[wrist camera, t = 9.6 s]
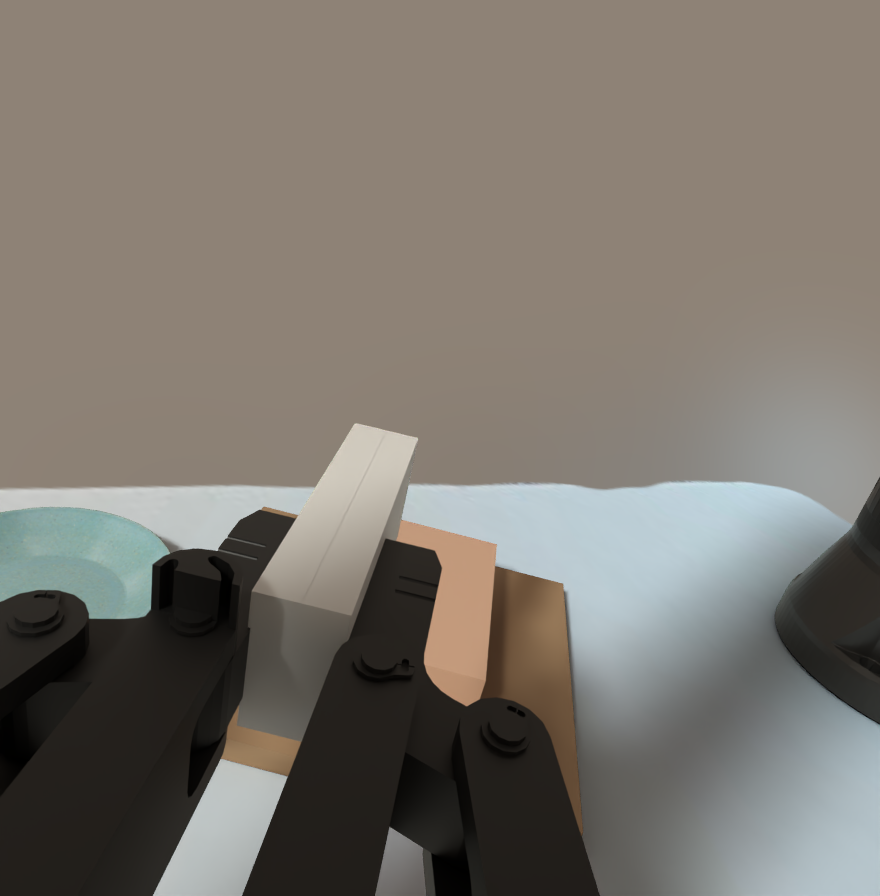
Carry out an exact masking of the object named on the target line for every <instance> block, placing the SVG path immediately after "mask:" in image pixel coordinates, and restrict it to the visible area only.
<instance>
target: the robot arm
mask: <svg viewBox="0 0 880 896" xmlns="http://www.w3.org/2000/svg"><path fill="white" fill-rule="evenodd" d="M417 442H418V438H415V437H411V436H407V435H403V434H399V433H395V432H390V431H386V430H382V429H378V428H374V427H369V426H365V425H361V424H357V423H355V424H354V426H353V428H352V429H351V431H350V433H349V434H348V436H347V438H346V439H345V441H344V442H343V444H342V446H341V447H340V449H339V450H338V452H337V454H336V455H335V457H334V459H333V460H332V462H331V463H330V465H329V467H328V468H327V470H326V471H325V473H324V475H323V476H322V478H321V480H320V481H319V483H318V484H317V486H316V488H315V489H314V491H313V492H312V494H311V496H310V497H309V499H308V501H307V502H306V504H305V505H304V507H303V509H302V510H301V512H300V514H299V515H298V517H297V518H292V517H288V516H284V515H280V514H276V513H271V512H267V511H263V510H258V511H256V512H255V513H253V514H251V515H249V516H247V517H245V518H243V519H241V520H240V521H239V522H238V523H237V524H236V526H235V527H234V528H233V530H232V531H231V532H230V534H229V535H228V538H227V539H225V540H224V542H223V543H222V544H221V545H220V547H219V549H218V551H213V550H205V549H188V550H179V551H176V552H173V553H171V554H168V555H165V556H163V557H162V558H160V559H159V560H158V561H156V562H155V563H154V564H152V588H151V610H150V611H149V612H148V613H147V615H146V616H144V617H139V618H128V619H89V612H88V610H87V607H86V604H85V602H83V601H82V600H81V599H79V598H78V597H77V596H75V595H74V594H70V593H66V592H63V591H59V590H35V591H30V592H25V593H20V594H17V595H15V596H13V597H10V598H8V599H6V600H3V601H1V602H0V896H153V894H154V892H155V890H156V888H157V886H158V884H159V882H160V880H161V878H162V876H163V874H164V872H165V870H166V868H167V866H168V864H169V862H170V860H171V858H172V856H173V854H174V852H175V850H176V848H177V846H178V844H179V842H180V840H181V837H182V835H183V833H184V831H185V829H186V827H187V825H188V823H189V821H190V819H191V817H192V815H193V813H194V811H195V809H196V807H197V805H198V803H199V801H200V799H201V797H202V795H203V793H204V791H205V789H206V787H207V785H208V783H209V781H210V779H211V777H212V775H213V773H214V771H215V769H216V767H217V765H218V763H219V761H220V759H221V757H222V755H223V752H224V748H225V744H226V739H227V729H228V725H229V723H230V721H231V719H232V717H233V715H234V713H235V711H236V709H237V707H238V705H239V710H238V720H237V726H241V727H245V728H249V729H253V730H257V731H260V732H264V733H268V734H272V735H276V736H280V737H284V738H288V739H292V740H296V741H300V742H301V744H300V747H299V749H298V752H297V754H296V757H295V760H294V762H293V765H292V767H291V770H290V773H289V775H288V778H287V780H286V783H285V786H284V788H283V791H282V793H281V796H280V799H279V801H278V804H277V806H276V809H275V812H274V814H273V817H272V819H271V822H270V825H269V827H268V830H267V832H266V835H265V838H264V840H263V843H262V845H261V848H260V851H259V853H258V856H257V858H256V861H255V864H254V866H253V869H252V871H251V874H250V877H249V879H248V882H247V884H246V887H245V889H244V892H243V895H242V896H375V892H376V888H377V883H378V878H379V873H380V869H381V864H382V859H383V854H384V850H385V845H386V840H387V835H388V831H389V826H390V827H391V828H393V829H394V830H396V831H398V832H399V833H401V834H402V835H404V836H405V837H407V838H409V839H410V840H412V841H413V842H415V843H416V844H418V845H420V846H421V847H423V863H424V874H425V884H426V895H427V896H600V895H599V892H598V888H597V885H596V882H595V879H594V875H593V872H592V869H591V866H590V862H589V859H588V856H587V853H586V850H585V846H584V843H583V840H582V837H581V833H580V830H579V827H578V824H577V821H576V817H575V814H574V811H573V808H572V804H571V801H570V798H569V795H568V791H567V788H566V785H565V782H564V779H563V775H562V772H561V769H560V766H559V762H558V759H557V756H556V753H555V750H554V746H553V743H552V740H551V737H550V735H549V733H548V731H547V729H546V727H545V725H544V723H543V721H541V720H540V719H539V718H538V717H537V716H536V715H535V714H534V713H533V712H532V711H531V710H530V709H528V708H526V707H524V706H523V705H521V704H519V703H517V702H515V701H512V700H507V699H503V698H498V697H493V698H483V699H479V700H477V701H475V702H474V703H472V704H470V705H468V706H465V705H463V704H462V703H460V702H458V701H456V700H454V699H453V698H451V697H450V696H448V695H447V694H445V693H444V692H442V691H441V690H440V689H439V688H438V687H437V686H436V685H435V684H434V683H433V682H432V680H431V679H430V677H429V675H428V674H427V671H426V668H425V665H424V653H425V649H426V644H427V639H428V634H429V629H430V625H431V620H432V615H433V610H434V605H435V600H436V596H437V591H438V586H439V581H440V577H441V572H442V566H441V564H440V561H439V559H438V556H437V554H436V552H435V550H431V549H427V548H423V547H419V546H415V545H411V544H406V543H402V542H398V541H396V540H397V537H398V532H399V527H400V523H401V518H402V513H403V508H404V504H405V499H406V494H407V490H408V485H409V480H410V475H411V470H412V466H413V461H414V456H415V451H416V447H417ZM775 623H776V627H777V630H778V632H779V634H780V636H781V638H782V640H783V642H784V643H785V645H786V646H787V648H788V649H789V650H790V652H791V653H792V654H793V656H794V657H795V658H796V659H797V660H798V661H799V663H800V664H801V665H802V666H803V667H804V668H805V669H806V670H807V671H808V672H809V673H810V674H811V675H812V676H814V677H815V678H816V679H817V680H818V681H819V682H820V683H821V684H823V685H824V686H825V687H826V688H828V689H829V690H830V691H831V692H833V693H834V694H835V695H837V696H838V697H839V698H841V699H842V700H843V701H845V702H846V703H848V704H849V705H851V706H852V707H854V708H855V709H857V710H858V711H860V712H861V713H863V714H865V715H866V716H868V717H869V718H871V719H873V720H875V721H876V722H878V723H880V478H879V480H878V481H877V483H876V485H875V487H874V489H873V491H872V492H871V494H870V496H869V498H868V499H867V501H866V503H865V505H864V507H863V509H862V510H861V512H860V514H859V516H858V518H857V520H856V521H855V523H854V525H853V527H852V528H851V529H850V530H849V531H848V532H847V533H846V534H845V535H844V536H843V537H842V538H840V539H839V540H838V541H837V542H836V543H835V544H833V545H832V546H831V547H830V548H829V549H828V550H826V551H825V552H824V553H823V554H822V555H821V556H820V557H819V558H818V559H817V560H815V561H814V562H813V563H812V564H811V565H810V566H809V567H808V568H807V569H806V570H805V571H804V572H803V573H801V574H799V575H798V576H797V577H795V578H794V579H793V580H792V582H791V583H790V584H789V586H788V587H787V589H786V591H785V593H784V595H783V597H782V599H781V600H780V602H779V604H778V606H777V608H776V611H775Z"/></svg>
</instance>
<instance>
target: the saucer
mask: <svg viewBox="0 0 880 896" xmlns="http://www.w3.org/2000/svg"><path fill="white" fill-rule="evenodd" d="M168 554H171V553H170V552H169V549H168V548H167V546H166V545H165V544H164V543H163V541H162V540H161V539H160V538H159V537H158V536H157V535H155V534H153V532H152V531H150V530H149V529H147V528H145V527H144V526H142V525H140V524H138V523H136V522H133V521H131V520H129V519H126V518H123V517H121V516H117V515H114V514H110V513H106V512H102V511H97V510H90V509H83V508H70V507H40V508H28V509H22V510H13V511H6V512H1V513H0V602H1V601H3V600H6V599H8V598H10V597H13V596H15V595H17V594H20V593H25V592H30V591H35V590H59V591H63V592H66V593H70V594H74V595H75V596H77V597H78V598H79V599H81V600H82V601H83V602H85V604H86V607H87V610H88V612H89V619H128V618H139V617H144V616H146V615H147V613H148V612H149V611H150V610H151V588H152V564H154V563H155V562H156V561H158V560H159V559H160V558H162V557H163V556H165V555H168Z"/></svg>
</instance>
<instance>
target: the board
mask: <svg viewBox="0 0 880 896" xmlns="http://www.w3.org/2000/svg"><path fill="white" fill-rule="evenodd" d="M262 510H263V511H267V512H271V513H276V514H280V515H284V516H288V517H292V518H297V517H298V515H295V514H291V513H287V512H283V511H279V510H275V509H271V508H267V507H263V508H262ZM493 697H498V698H503V699H507V700H512V701H515V702H517V703H519V704H521V705H523V706H524V707H526V708H528V709H530V710H531V711H532V712H533V713H534V714H535V715H536V716H537V717H538V718H539V719H540V720H541V721H543V723H544V725H545V727H546V729H547V731H548V733H549V735H550V737H551V740H552V743H553V746H554V750H555V753H556V756H557V759H558V762H559V766H560V769H561V772H562V775H563V779H564V782H565V785H566V788H567V791H568V795H569V798H570V801H571V804H572V808H573V811H574V814H575V817H576V821H577V824H578V827H579V830H580V833H581V837H582V834H583V825H582V813H581V800H580V788H579V776H578V763H577V751H576V738H575V726H574V714H573V701H572V689H571V676H570V664H569V652H568V639H567V627H566V614H565V602H564V589H563V584H562V583H558V582H554V581H550V580H546V579H542V578H538V577H535V576H531V575H527V574H523V573H519V572H515V571H511V570H508V569H504V568H500V567H496V566H495V572H494V584H493V597H492V609H491V622H490V634H489V647H488V659H487V671H486V682H485V685H484V688H483V691H482V694H481V697H480V699H483V698H493ZM238 710H239V705H238V707H237V709H236V711H235V713H234V715H233V717H232V719H231V721H230V723H229V725H228V729H227V739H226V744H225V748H224V752H223V755H222V757H221V759H225V760H229V761H232V762H236V763H240V764H244V765H247V766H251V767H255V768H259V769H262V770H266V771H270V772H274V773H278V774H281V775H285V776H288V775H289V773H290V770H291V767H292V765H293V762H294V760H295V757H296V754H297V752H298V749H299V747H300V744H301V742H300V741H296V740H292V739H288V738H284V737H280V736H276V735H272V734H268V733H264V732H260V731H257V730H253V729H249V728H245V727H241V726H237V720H238Z"/></svg>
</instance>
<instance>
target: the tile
mask: <svg viewBox="0 0 880 896" xmlns="http://www.w3.org/2000/svg"><path fill="white" fill-rule="evenodd" d="M396 541H398V542H402V543H406V544H411V545H415V546H419V547H423V548H427V549H431V550H435V552H436V554H437V556H438V559H439V561H440V564H441V566H442V572H441V577H440V581H439V586H438V591H437V596H436V600H435V605H434V610H433V615H432V620H431V625H430V629H429V634H428V639H427V644H426V649H425V653H424V665H425V668H426V671H427V674H428V675H429V677H430V679H431V680H432V682H433V683H434V684H435V685H436V686H437V687H438V688H439V689H440V690H441V691H442V692H444V693H445V694H447V695H448V696H450V697H451V698H453V699H454V700H456V701H458V702H460V703H462V704H463V705H465V706H468V705H470V704H472V703H474V702H475V701H477V700H479V699H480V697H481V694H482V691H483V688H484V685H485V682H486V671H487V659H488V647H489V634H490V622H491V609H492V597H493V584H494V572H495V560H496V547H497V544H493V543H489V542H485V541H481V540H478V539H474V538H470V537H466V536H462V535H458V534H454V533H450V532H447V531H443V530H439V529H435V528H431V527H427V526H423V525H419V524H415V523H412V522H408V521H404V520H401V523H400V527H399V532H398V537H397V540H396Z"/></svg>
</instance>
